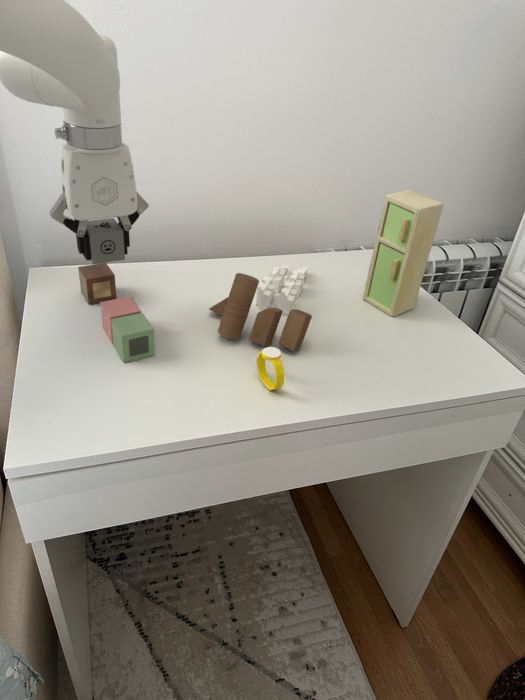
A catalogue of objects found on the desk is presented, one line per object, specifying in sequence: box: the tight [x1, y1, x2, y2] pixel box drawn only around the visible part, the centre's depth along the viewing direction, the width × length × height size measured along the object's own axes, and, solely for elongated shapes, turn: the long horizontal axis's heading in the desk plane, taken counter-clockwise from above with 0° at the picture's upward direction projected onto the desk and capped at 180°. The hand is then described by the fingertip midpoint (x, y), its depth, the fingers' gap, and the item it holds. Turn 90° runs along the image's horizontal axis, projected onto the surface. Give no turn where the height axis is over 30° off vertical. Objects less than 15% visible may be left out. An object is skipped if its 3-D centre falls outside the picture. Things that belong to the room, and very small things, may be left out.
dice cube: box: [86, 217, 126, 265], centre depth 84 cm, size 5×5×5 cm
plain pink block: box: [99, 296, 142, 345], centre depth 86 cm, size 5×5×5 cm
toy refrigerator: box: [362, 189, 444, 317], centre depth 97 cm, size 8×7×21 cm
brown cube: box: [77, 262, 118, 305], centre depth 95 cm, size 5×5×5 cm
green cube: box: [111, 312, 156, 364], centre depth 83 cm, size 5×5×5 cm
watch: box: [256, 346, 285, 392], centre depth 78 cm, size 6×3×6 cm, turn 28°
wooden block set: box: [208, 272, 313, 352], centre depth 88 cm, size 18×9×10 cm, turn 59°
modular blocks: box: [255, 265, 309, 316], centre depth 104 cm, size 20×7×4 cm, turn 165°
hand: (104, 252), depth 85 cm, fingers closed on dice cube, 5 cm apart
